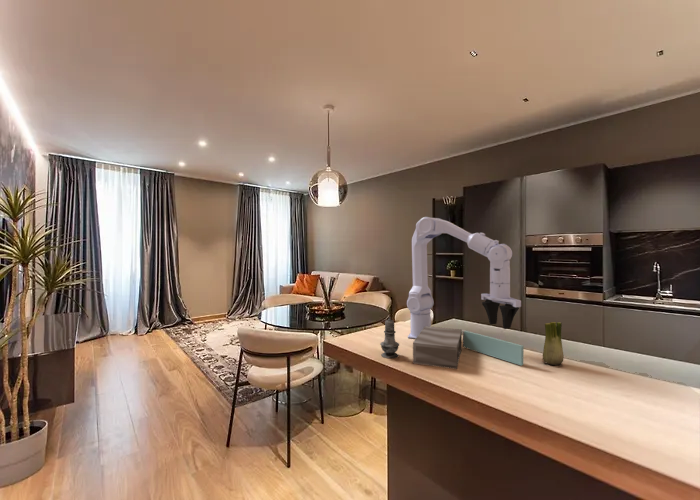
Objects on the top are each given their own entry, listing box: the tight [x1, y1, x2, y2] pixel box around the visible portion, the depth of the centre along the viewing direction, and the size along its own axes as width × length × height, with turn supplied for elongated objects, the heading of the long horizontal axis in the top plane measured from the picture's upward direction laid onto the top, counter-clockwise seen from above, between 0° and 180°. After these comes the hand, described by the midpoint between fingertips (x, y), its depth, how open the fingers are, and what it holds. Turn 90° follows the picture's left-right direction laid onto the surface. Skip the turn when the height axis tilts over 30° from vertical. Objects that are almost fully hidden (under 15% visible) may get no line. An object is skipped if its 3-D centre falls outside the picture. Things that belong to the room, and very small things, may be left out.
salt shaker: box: [379, 316, 400, 360], centre depth 100 cm, size 6×6×12 cm
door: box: [462, 329, 525, 367], centre depth 99 cm, size 20×2×5 cm, turn 32°
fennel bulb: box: [542, 321, 565, 366], centre depth 92 cm, size 6×5×12 cm
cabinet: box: [412, 326, 463, 370], centre depth 101 cm, size 20×12×6 cm, turn 157°
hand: (499, 326), depth 102 cm, fingers open, 5 cm apart
